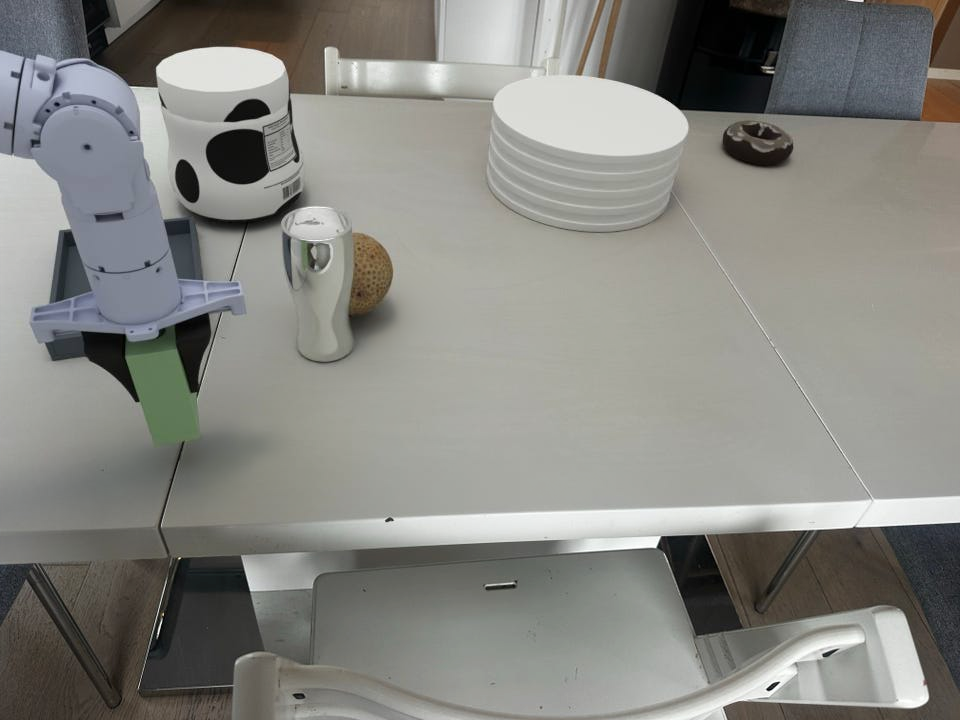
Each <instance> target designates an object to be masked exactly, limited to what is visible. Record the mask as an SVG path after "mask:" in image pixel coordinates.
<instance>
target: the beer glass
mask: <svg viewBox="0 0 960 720" xmlns="http://www.w3.org/2000/svg"><path fill="white" fill-rule="evenodd" d="M352 225H353V222H352V219H351V216H349V215H348V213H346V212H344V211H343V210H341V209H339V208H335V207H332V206H326V205H310V206H309V205H308V206H301V207H299V208H296V209H293V210H291V211H289V212H288V213H286V214H285V215H284V216H283V218H282V220H281V222H280V227H281V254H282V264H283V271H284V277H285V279H286V283H287V288H288V290H289V293H290V297H291V300H292V302H293V304H294V309H295V311H296V315H297V321H298V330H297V338H296V346H297V350H298V352H299V353H300V354H301V355H302V356H303V357H304V358H306V359H308V360H311V361H314V362H318V363H319V362H320V363H329V362H335V361H338V360H341V359H343V358H345V357H346V356H348V355H349V354H350V353H351V352H352V351H353V349H354V346H355V337H354V333H353V330H352V326H351V320H350V318H351V317H350V315H349V312H350V304H351V298H352V293H353V287H354V279H355V248H354V240H353V233H354V232H353V226H352Z"/></svg>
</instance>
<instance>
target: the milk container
mask: <svg viewBox="0 0 960 720" xmlns="http://www.w3.org/2000/svg"><path fill="white" fill-rule="evenodd" d="M155 73H156V75H155V76H156V83H157V84H156V85H157V91H158V92H157V93H158V97H159V101H160V110H161V113H162V117H163V121H164V125H165V128H166V133H167V139H168V140H167V141H168V150H167V152H168V153H167V173H168V178H169V182H170V185H171V187H172V190H173V191H174V193H175V196H176V197H177V200H178V201H179V203H181V204H182V205H183V206H184V208H185V209H187V210H188V211H189V212H191V213H193V214H195V215H197V216H200V217H201V218H205V219H208V220H211V221H218V222H219V221H220V222H224V223H250V222H256V221H258V220H264V219H268V218H269V219H270V218H272V217H274V216H276V215H278V214H281V213H283V212H285V211H286V210H288V209H289V208H290V207H292V206H293V205H294V204H295V203H296V202H297V201H299V198H300V197H301V195H302V193H303V190H304V184H305V177H306V175H305V174H306V167H305V161H304V156H303V153H302V150H301V147H300V145H299V142H298V139H297V137H296V135H295V129H294V119H293V118H294V117H293V104H292V103H293V102H292V99H291V85H290V81H289V75H288V72H287V68H286V66H285V64H284V62H283V61H282V60H281V59H280V58H278V57H276V56H274V55H273V54H271V53H269V52H264V51H261V50H258V49H253V48H245V47H238V46H210V47H202V48H201V47H200V48H192V49H188V50H184V51H180V52H177V53H173V55H170V56H168V57H166V58H164V59H162V60H161V61H160V62H159V63H158V65H157V66H156V67H155Z"/></svg>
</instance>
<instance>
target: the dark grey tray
mask: <svg viewBox="0 0 960 720" xmlns="http://www.w3.org/2000/svg"><path fill="white" fill-rule="evenodd" d="M163 220H164V225H165V229H166V233H167V237H168V241H169V245H170V249H171V254H172V258H173V262H174V266H175V270H176V274H177V278H178V279H187V280H201V281H204V276H203V275H204V274H203V268H202V260H201V252H200V251H201V250H200V242H199V235H198V229H197V224H196V220H195V217H194V216H184V217H175V218H165V219H164V218H163ZM53 265H54V266H53V272H52V279H51V280H52V281H51V287H50V295H49V301H48V304H52V303H56V302H59V301H63V300H66V299H69V298H73V297H76V296H79V295H82V294H85V293H89V292H92V289H91V286H90V283H89V280H88V277H87V274H86V271H85V268H84V266H83V263H82V260H81V257H80V254H79V251H78V248H77V245H76V242H75V239H74V236H73V233H72V231H71V228H68V229H59V230H58V236H57V244H56V251H55V257H54V264H53ZM44 345H45V347H46V350H47V352H48V354H49V356H50V359H51V361H61V360H66V359H72V358H73V359H74V358H79V357H86V355H85V353H84V342H83V337H82V334H81V332H78V333H71V334H64V335H57V336H55V340H54V341H52V342H46V343H44Z"/></svg>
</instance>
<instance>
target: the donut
mask: <svg viewBox="0 0 960 720" xmlns="http://www.w3.org/2000/svg"><path fill="white" fill-rule="evenodd" d="M722 145H723V146H724V147H723V148H725V150H726V151H727V152H728V153H729V154H730V155H731V156H733V157H735V158H736V159H738V160H741V161H744V162H745V163H750V164H753V165H759V166H760V165H761V166H770V165H771V166H772V165H775V164H780V163H782V162H784V161H786V160H788V159H789V157H791V156H792V155H791V154H792V153H793V151H794V141H793V138H792V137H791V135H790V134H789V133H788V132H787V131H785V130H784V129H783V128H781V127H779V126H778V125H774V124H771V123H769V122H765V121H759V120H739V121H736V122H734V123H732V124H729V126H727V128H726V129H725V130H724V132H723V134H722Z"/></svg>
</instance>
